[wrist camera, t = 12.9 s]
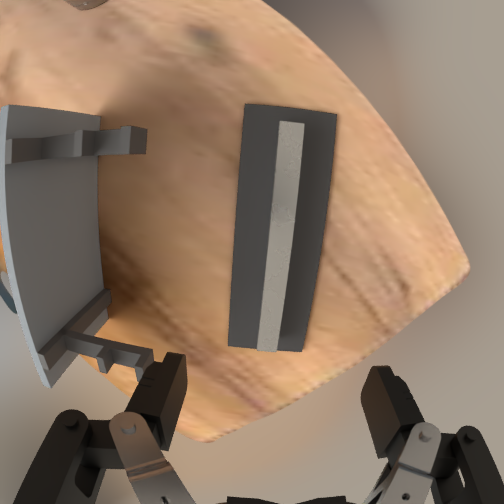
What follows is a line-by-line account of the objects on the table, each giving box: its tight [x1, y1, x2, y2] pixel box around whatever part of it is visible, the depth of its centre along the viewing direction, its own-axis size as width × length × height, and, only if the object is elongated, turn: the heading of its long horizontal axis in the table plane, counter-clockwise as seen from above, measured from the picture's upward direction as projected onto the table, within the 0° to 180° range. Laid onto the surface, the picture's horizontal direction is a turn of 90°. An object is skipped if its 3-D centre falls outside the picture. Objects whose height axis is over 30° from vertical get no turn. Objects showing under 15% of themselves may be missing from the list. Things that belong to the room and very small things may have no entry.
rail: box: [257, 121, 304, 352], centre depth 32 cm, size 26×2×3 cm, turn 175°
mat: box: [228, 104, 337, 352], centre depth 33 cm, size 30×10×1 cm, turn 175°
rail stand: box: [0, 105, 154, 388], centre depth 26 cm, size 28×13×16 cm, turn 175°
